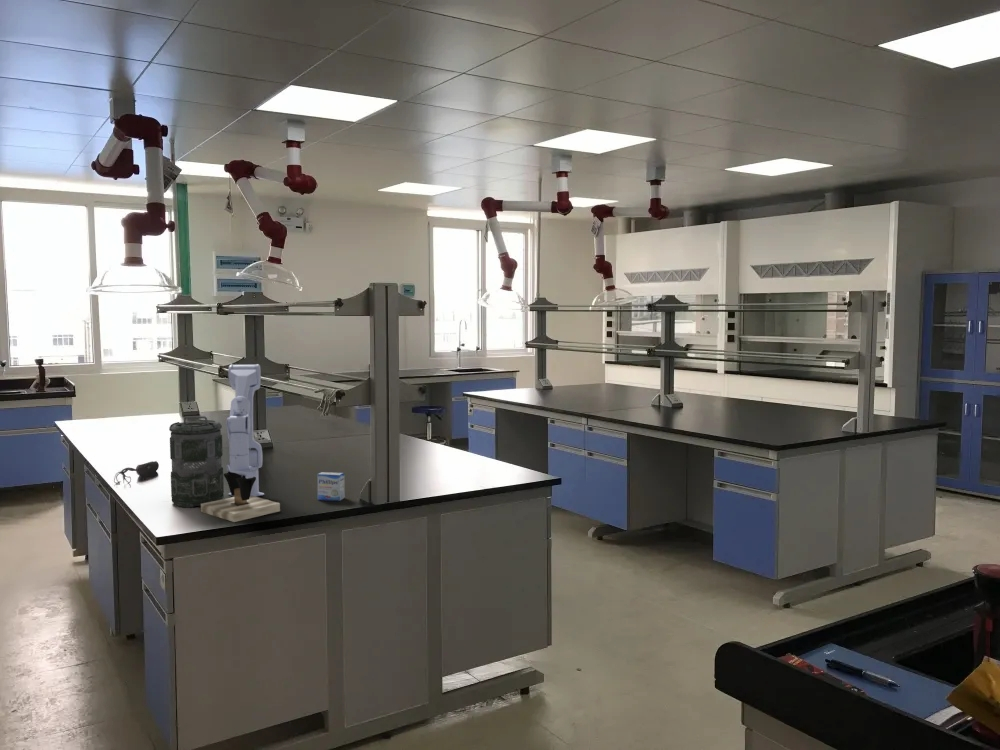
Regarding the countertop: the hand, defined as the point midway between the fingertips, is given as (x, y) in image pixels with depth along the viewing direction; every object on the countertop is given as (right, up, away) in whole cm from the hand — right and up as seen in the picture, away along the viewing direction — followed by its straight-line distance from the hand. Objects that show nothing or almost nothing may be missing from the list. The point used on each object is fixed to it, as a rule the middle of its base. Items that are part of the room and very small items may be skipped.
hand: (240, 497), depth 240 cm
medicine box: (+25, -3, +17) cm, 30 cm away
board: (0, -4, 0) cm, 4 cm away
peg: (0, -4, 0) cm, 4 cm away
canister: (-18, -4, +12) cm, 22 cm away
